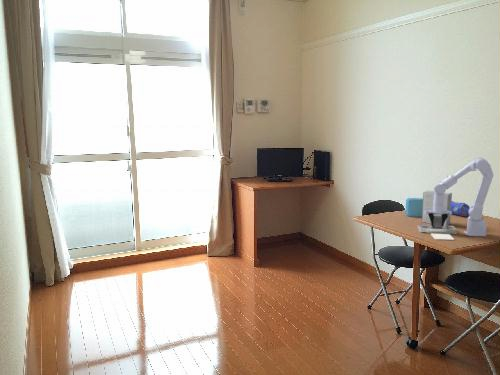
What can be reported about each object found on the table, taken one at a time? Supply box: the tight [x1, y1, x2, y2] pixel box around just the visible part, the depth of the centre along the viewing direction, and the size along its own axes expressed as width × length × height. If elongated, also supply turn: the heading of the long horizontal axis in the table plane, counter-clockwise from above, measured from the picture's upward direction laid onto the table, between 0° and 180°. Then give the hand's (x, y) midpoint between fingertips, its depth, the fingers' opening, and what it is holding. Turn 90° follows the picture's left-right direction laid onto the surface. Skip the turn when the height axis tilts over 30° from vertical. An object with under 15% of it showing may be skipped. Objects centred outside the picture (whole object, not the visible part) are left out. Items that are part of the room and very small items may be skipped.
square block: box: [433, 216, 442, 228], centre depth 244 cm, size 4×4×9 cm
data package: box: [405, 197, 423, 218], centre depth 280 cm, size 12×4×12 cm, turn 90°
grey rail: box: [417, 224, 458, 235], centre depth 245 cm, size 20×8×3 cm, turn 80°
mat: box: [430, 233, 455, 241], centre depth 233 cm, size 10×10×1 cm
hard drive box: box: [421, 190, 453, 226], centre depth 261 cm, size 16×8×20 cm, turn 47°
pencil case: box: [451, 200, 471, 218], centre depth 284 cm, size 22×9×10 cm, turn 23°
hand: (437, 226), depth 245 cm, fingers open, 5 cm apart
